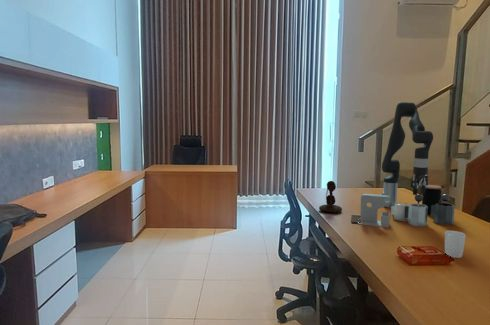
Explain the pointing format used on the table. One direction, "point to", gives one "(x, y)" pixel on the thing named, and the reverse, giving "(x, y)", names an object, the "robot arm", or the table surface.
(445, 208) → the black press
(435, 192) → the coffee jar
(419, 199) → the plunger
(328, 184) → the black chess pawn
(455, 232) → the white cup
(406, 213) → the steel press
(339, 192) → the table surface
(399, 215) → the mug
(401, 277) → the table surface
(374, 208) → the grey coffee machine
